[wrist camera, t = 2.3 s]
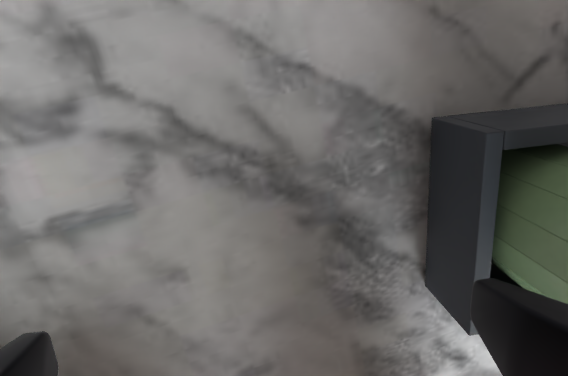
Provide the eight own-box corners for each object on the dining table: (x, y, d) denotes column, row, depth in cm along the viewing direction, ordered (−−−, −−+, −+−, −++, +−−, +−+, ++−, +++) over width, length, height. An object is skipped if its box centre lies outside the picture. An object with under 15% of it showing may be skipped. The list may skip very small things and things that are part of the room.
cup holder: (424, 285, 23) (469, 336, 19) (431, 117, 20) (486, 132, 16) (577, 262, 24) (652, 305, 20) (606, 99, 21) (701, 109, 17)
